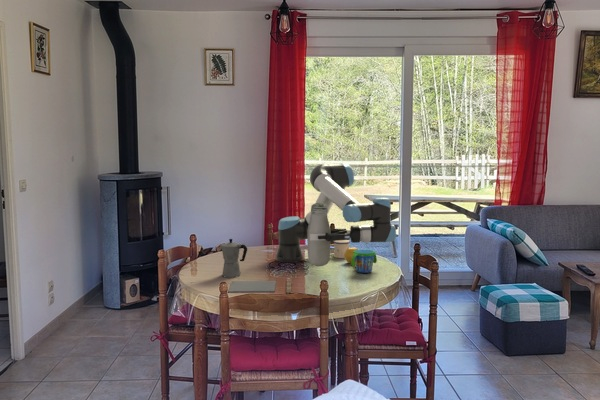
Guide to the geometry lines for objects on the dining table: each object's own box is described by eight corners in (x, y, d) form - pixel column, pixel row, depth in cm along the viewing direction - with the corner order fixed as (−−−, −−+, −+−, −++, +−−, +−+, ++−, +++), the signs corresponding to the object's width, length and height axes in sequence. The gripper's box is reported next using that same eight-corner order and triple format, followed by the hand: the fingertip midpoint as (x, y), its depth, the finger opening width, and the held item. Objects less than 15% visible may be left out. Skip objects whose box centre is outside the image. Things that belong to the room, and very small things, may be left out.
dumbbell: (372, 269, 247) (372, 253, 246) (355, 271, 245) (355, 255, 244) (358, 261, 266) (358, 246, 265) (343, 262, 263) (343, 247, 263)
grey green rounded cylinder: (314, 269, 210) (313, 204, 207) (304, 264, 219) (303, 202, 216) (334, 267, 214) (334, 203, 211) (324, 262, 223) (323, 201, 220)
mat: (232, 282, 226) (232, 281, 226) (276, 281, 227) (276, 280, 227) (228, 292, 211) (228, 291, 210) (274, 291, 211) (274, 290, 211)
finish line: (286, 281, 228) (286, 279, 228) (291, 280, 228) (291, 279, 228) (286, 293, 208) (286, 292, 208) (291, 293, 208) (291, 292, 208)
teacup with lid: (348, 254, 282) (348, 234, 281) (351, 258, 273) (351, 237, 272) (327, 255, 281) (327, 235, 280) (329, 258, 272) (329, 238, 271)
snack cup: (369, 267, 251) (369, 248, 251) (383, 271, 242) (383, 251, 242) (345, 271, 243) (344, 251, 242) (358, 275, 234) (358, 254, 234)
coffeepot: (214, 276, 237) (213, 239, 235) (224, 271, 246) (223, 236, 244) (243, 279, 231) (242, 241, 229) (252, 274, 240) (251, 238, 238)
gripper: (363, 247, 205) (310, 248, 204) (356, 237, 227) (308, 238, 227) (363, 230, 204) (310, 230, 203) (356, 221, 226) (308, 222, 226)
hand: (309, 234), depth 215 cm, fingers closed on grey green rounded cylinder, 10 cm apart
